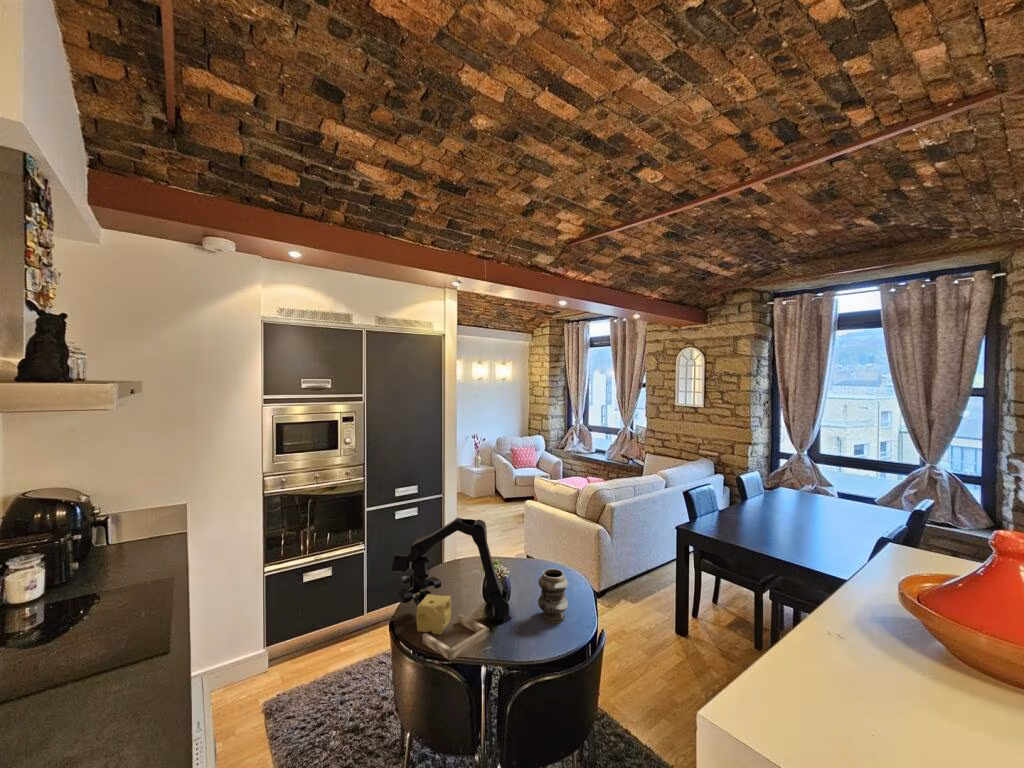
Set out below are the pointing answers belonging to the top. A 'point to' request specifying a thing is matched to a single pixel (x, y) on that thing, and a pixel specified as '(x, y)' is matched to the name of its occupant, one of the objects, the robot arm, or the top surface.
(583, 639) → the top surface
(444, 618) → the cheese
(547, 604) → the apothecary jar
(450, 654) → the square wooden tray
